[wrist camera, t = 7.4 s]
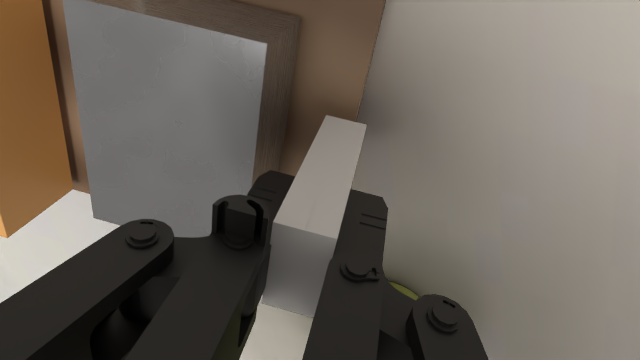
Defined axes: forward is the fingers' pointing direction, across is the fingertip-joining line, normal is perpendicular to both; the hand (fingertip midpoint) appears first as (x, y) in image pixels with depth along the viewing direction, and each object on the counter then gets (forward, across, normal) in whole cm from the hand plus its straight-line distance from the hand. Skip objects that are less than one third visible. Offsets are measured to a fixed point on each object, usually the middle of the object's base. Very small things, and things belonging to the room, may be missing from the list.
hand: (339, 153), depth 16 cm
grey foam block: (+1, +5, 0) cm, 6 cm away
